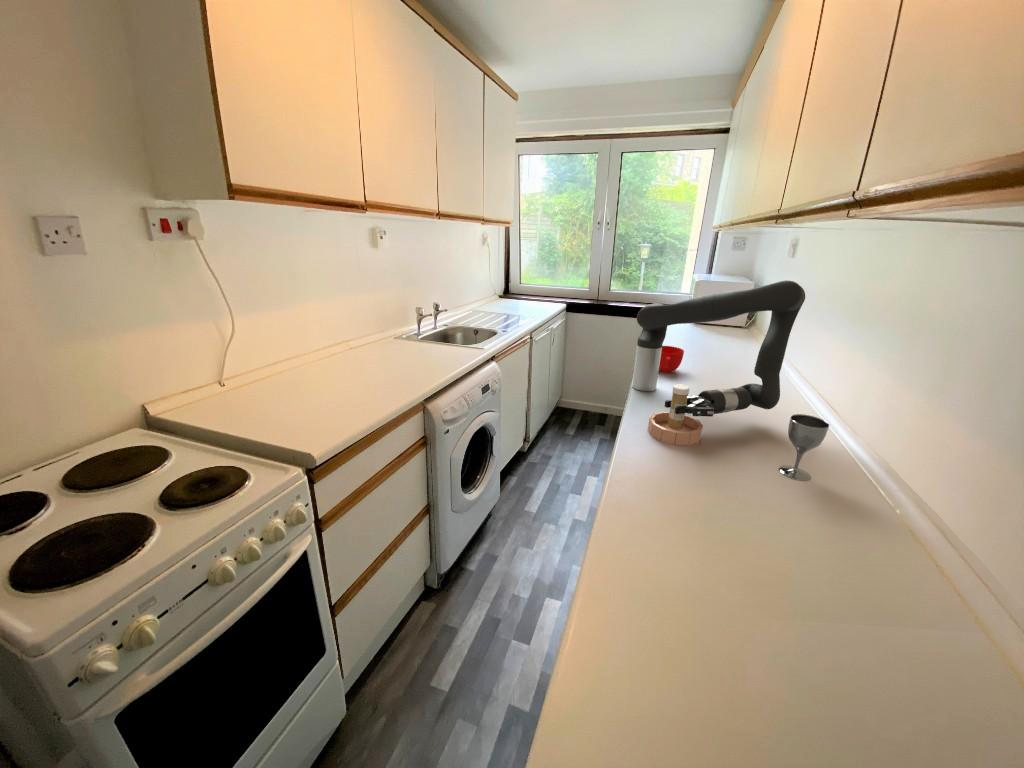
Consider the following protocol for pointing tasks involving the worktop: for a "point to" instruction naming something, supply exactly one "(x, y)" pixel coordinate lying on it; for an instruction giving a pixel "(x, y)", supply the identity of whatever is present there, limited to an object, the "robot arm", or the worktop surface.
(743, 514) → the worktop surface
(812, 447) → the wine glass
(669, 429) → the terracotta bowl
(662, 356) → the ceramic cup
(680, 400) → the sprinkles bottle
